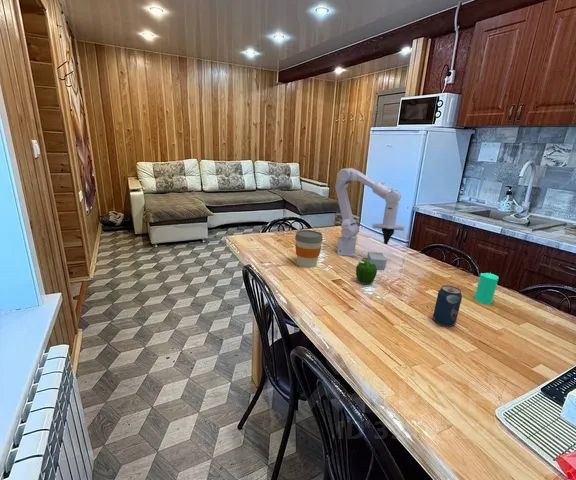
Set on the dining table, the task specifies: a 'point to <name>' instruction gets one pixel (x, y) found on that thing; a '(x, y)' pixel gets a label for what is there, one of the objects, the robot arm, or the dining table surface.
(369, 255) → the slab
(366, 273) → the bell pepper
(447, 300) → the soda can
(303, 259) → the reusable coffee cup
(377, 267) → the flat gray panel
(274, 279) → the dining table surface
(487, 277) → the candle
